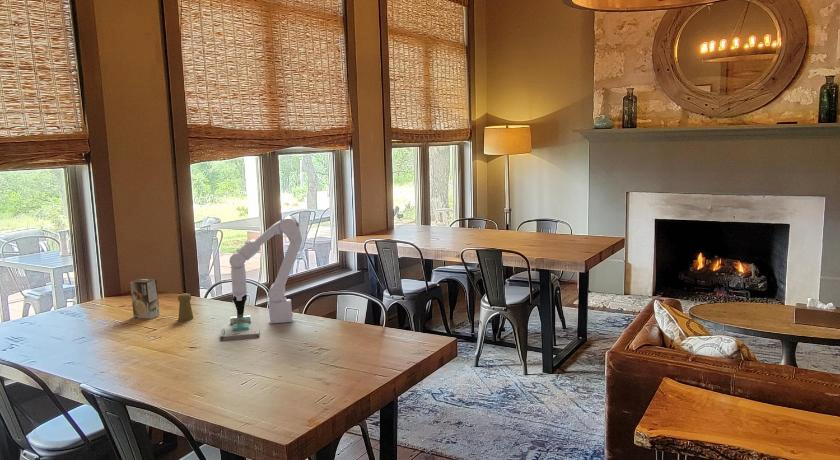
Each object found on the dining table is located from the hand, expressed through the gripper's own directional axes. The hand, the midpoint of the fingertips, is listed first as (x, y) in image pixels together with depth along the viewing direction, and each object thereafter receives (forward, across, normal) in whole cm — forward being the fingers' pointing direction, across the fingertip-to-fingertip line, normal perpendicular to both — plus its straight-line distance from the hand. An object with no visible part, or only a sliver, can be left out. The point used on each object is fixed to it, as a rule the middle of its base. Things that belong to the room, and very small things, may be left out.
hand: (240, 313), depth 263 cm
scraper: (+4, 0, 0) cm, 4 cm away
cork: (+4, -12, -23) cm, 26 cm away
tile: (+4, +8, 0) cm, 9 cm away
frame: (+4, +16, 0) cm, 17 cm away
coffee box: (+4, -21, -40) cm, 45 cm away
